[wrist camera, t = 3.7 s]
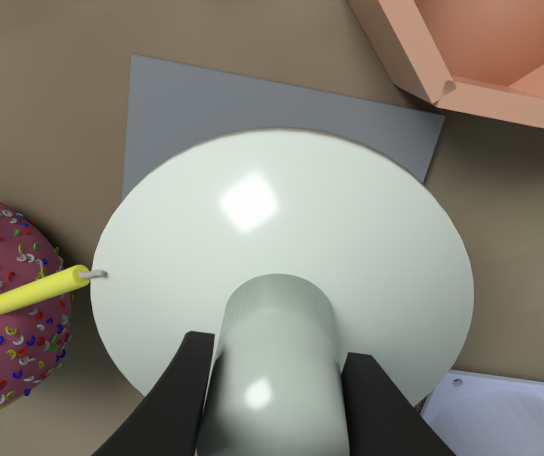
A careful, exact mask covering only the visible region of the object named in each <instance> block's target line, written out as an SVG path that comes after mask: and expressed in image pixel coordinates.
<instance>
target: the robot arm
mask: <svg viewBox="0 0 544 456" xmlns="http://www.w3.org/2000/svg"><path fill="white" fill-rule="evenodd" d="M214 340H215V334H212V333H204V332H197V331H189V332H187V333H186V334H185V336H184V338H183V341H182V343H181V345H180V347H179V349H178V350H177V352H176V354H175V356H174V357H173V359H172V360H171V362H170V364H169V365H168V367H167V368H166V370H165V371H164V372H163V374H162V375H161V377H160V378H159V379H158V381H157V382H156V384H155V385H154V386H153V388H152V389H151V390H150V392H149V393H148V394H147V395H146V397H145V398H144V399H143V400H142V402H141V403H140V404H139V405H138V406H137V408H136V409H135V410H134V411H133V413H132V414H131V415H130V416H129V417H128V418H127V419H126V420H125V422H124V423H123V424H122V425H121V426H120V427H119V428H118V429H117V430H116V431H115V432H114V433H113V435H112V436H111V437H110V438H109V439H108V440H107V441H106V442H105V443H104V444H103V445H102V446H101V447H100V448H99V449H98V450H97V451H95V452H94V453H93V454H92V455H91V456H194V454H195V450H196V446H197V439H198V434H199V429H200V424H201V420H202V415H203V409H204V403H205V397H206V391H207V385H208V380H209V374H210V368H211V362H212V356H213V349H214ZM456 379H458V380H457V381H454V380H456ZM341 380H342V389H343V398H344V406H345V415H346V424H347V432H348V441H349V456H544V382H539V381H531V380H524V379H517V378H509V377H502V376H495V375H487V374H480V373H473V372H465V371H458V370H451V369H450V370H449V371H448V373H447V374H446V376H445V377H444V378H443V379H442V380H441V382H440V383H439V384H438V385H437V386H436V387H435V388H434V389H433V390H432V391H431V392H430V393H429V394H428V396H427V398H426V401H425V403H424V405H423V408H422V410H421V413H420V414H419V413H418V412H417V411H416V410H415V408H414V407H413V406H412V405H411V404H410V402H409V401H408V400H407V399H406V397H405V396H404V395H403V394H402V392H401V391H400V390H399V389H398V387H397V386H396V385H395V384H394V382H393V381H392V380H391V379H390V377H389V376H388V375H387V374H386V372H385V371H384V370H383V368H382V367H381V366H380V365H379V363H378V362H377V361H376V360H375V359H374V357H373V356H372V355H368V354H360V353H353V352H348V354H347V358H346V361H345V364H344V367H343V370H342V373H341Z"/></svg>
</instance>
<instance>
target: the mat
mask: <svg viewBox="0 0 544 456" xmlns="http://www.w3.org/2000/svg"><path fill="white" fill-rule="evenodd" d="M445 117H446V116H444V115H443V114H439V113H434V112H429V111H423V110H418V109H413V108H408V107H403V106H398V105H393V104H388V103H383V102H377V101H372V100H367V99H362V98H357V97H352V96H347V95H342V94H337V93H331V92H326V91H321V90H316V89H311V88H306V87H301V86H296V85H291V84H285V83H280V82H275V81H270V80H265V79H260V78H255V77H250V76H245V75H239V74H234V73H229V72H224V71H219V70H214V69H209V68H204V67H199V66H193V65H188V64H183V63H178V62H173V61H168V60H163V59H158V58H153V57H148V56H142V55H137V54H132V56H131V71H130V86H129V101H128V116H127V131H126V146H125V161H124V176H123V191H122V202H123V201H124V199H125V198H126V197H127V196H128V194H129V193H130V192H131V190H132V189H133V188H134V187H135V185H136V184H137V183H138V182H139V181H140V180H141V179H143V178H144V177H145V176H146V175H147V174H148V173H149V172H150V171H151V170H152V169H153V168H154V167H156V166H157V165H159V164H160V163H162V162H163V161H165V160H166V159H167V158H169V157H170V156H172V155H173V154H175V153H177V152H179V151H181V150H183V149H185V148H187V147H189V146H191V145H193V144H195V143H197V142H199V141H202V140H205V139H208V138H211V137H214V136H217V135H220V134H223V133H228V132H233V131H238V130H243V129H248V128H259V127H274V126H283V127H299V128H310V129H315V130H320V131H325V132H330V133H335V134H338V135H341V136H344V137H347V138H350V139H353V140H356V141H359V142H362V143H364V144H366V145H368V146H370V147H372V148H374V149H376V150H378V151H380V152H382V153H384V154H386V155H387V156H389V157H390V158H392V159H393V160H395V161H396V162H398V163H399V164H401V165H402V166H404V167H405V168H407V169H408V170H409V171H410V172H411V173H412V174H413V175H414V176H416V177H417V178H418V179H419V180H420V181H421V182H422V183H423V181H424V179H425V176H426V173H427V170H428V167H429V164H430V161H431V158H432V155H433V152H434V149H435V146H436V143H437V140H438V137H439V134H440V131H441V128H442V125H443V122H444V119H445Z"/></svg>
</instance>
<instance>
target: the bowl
mask: <svg viewBox="0 0 544 456" xmlns="http://www.w3.org/2000/svg"><path fill="white" fill-rule="evenodd" d="M347 1H348V3H349V4H350V6H351V8H352V10H353V12H354V13H355V15H356V17H357V19H358V21H359V23H360V24H361V26H362V28H363V30H364V32H365V33H366V35H367V37H368V39H369V41H370V43H371V44H372V46H373V48H374V50H375V52H376V54H377V55H378V57H379V59H380V61H381V63H382V64H383V66H384V68H385V70H386V72H387V74H388V75H389V77H390V79H391V81H392V83H393V84H395V85H397V87H399V88H401V89H403V90H405V91H407V92H409V93H411V94H413V95H415V96H416V97H418V98H420V99H422V100H424V101H426V102H428V103H430V104H432V105H434V106H435V107H438V108H443V109H448V110H453V111H458V112H464V113H469V114H474V115H479V116H484V117H489V118H494V119H499V120H504V121H509V122H514V123H519V124H524V125H529V126H535V127H540V128H544V0H347Z"/></svg>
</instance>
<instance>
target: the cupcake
mask: <svg viewBox="0 0 544 456" xmlns="http://www.w3.org/2000/svg"><path fill="white" fill-rule="evenodd" d="M21 216H22V217H21ZM24 218H25V217H24V216H23V215H22V214H20V213H16V212H15V211H13V210H12V209H10V208H9V207H7V206H6V205H4V204H3V203H1V202H0V409H2V408H4V407H6V406H7V405H9V404H11V403H13V402H14V401H16V400H18V399H19V398H21V397H22V396H24V395H25V396H28V395H29V393H30V391H31V390H32V389H33V388H34V387H35V386H37V385H38V384H40V383H41V382H42V381H43V380H45V379H46V378H47V377H48V376H49V375H50V374H51V373H52V371H53V370H56V369H58V368H59V367H60V366H61V364H62V363H61V362H59V360H60V358H62V357H64V355H65V353H66V351H65V347H66V344H67V343H68V342H69V341H70V340H71V335H69V334H70V324H71V302H73V300H74V296H73V294H71V293H69V292H70V291H72V290H75V289H78V288H81V287H84V286H86V285H87V284H88V283H89V282H90V279H91V278H94V277H96V276H100V277H103V276H104V275H105V272H104V271H103V270H99V269H96V270H92V271H89V270H88V268H87V267H85V266H83V265H76V266H73V267H70V268H68V269H67V268H64V267H63V262H64V260H62V258H61V257H59V255H58V247H55V248H53V247H52V245H51V244H50V243H49V241H48V240H47V239H46V238H45V237H44V236H43V235H42V234H41V233H40V230H39V229H38V228H36V227H34V223H33V221H32V220H31V222H30V221H28V220H25V219H24ZM56 249H57V250H56ZM70 296H71V297H72V300H70V299H71V297H70ZM68 338H69V339H68ZM62 354H63V355H62ZM57 364H58V365H59V366H58V365H57ZM57 366H58V367H57ZM55 367H56V368H55Z"/></svg>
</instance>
